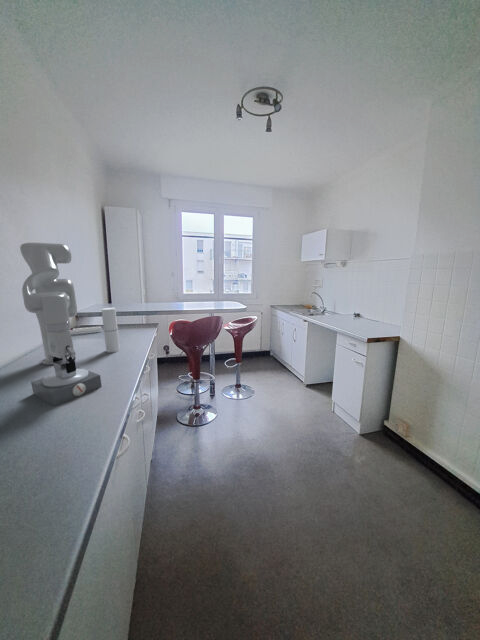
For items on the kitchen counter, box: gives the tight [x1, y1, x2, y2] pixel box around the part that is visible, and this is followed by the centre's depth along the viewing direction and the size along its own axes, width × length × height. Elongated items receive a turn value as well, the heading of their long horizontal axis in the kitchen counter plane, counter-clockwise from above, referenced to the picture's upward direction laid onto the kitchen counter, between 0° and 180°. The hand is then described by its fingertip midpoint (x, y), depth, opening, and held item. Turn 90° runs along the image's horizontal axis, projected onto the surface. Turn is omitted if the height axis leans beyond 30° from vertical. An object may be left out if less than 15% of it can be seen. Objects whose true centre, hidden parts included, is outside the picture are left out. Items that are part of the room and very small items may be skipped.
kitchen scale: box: [30, 366, 102, 407], centre depth 99 cm, size 18×17×6 cm
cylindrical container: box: [101, 307, 121, 353], centre depth 146 cm, size 7×7×25 cm
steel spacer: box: [53, 359, 76, 380], centre depth 98 cm, size 5×5×6 cm
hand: (65, 369), depth 98 cm, fingers open, 9 cm apart
